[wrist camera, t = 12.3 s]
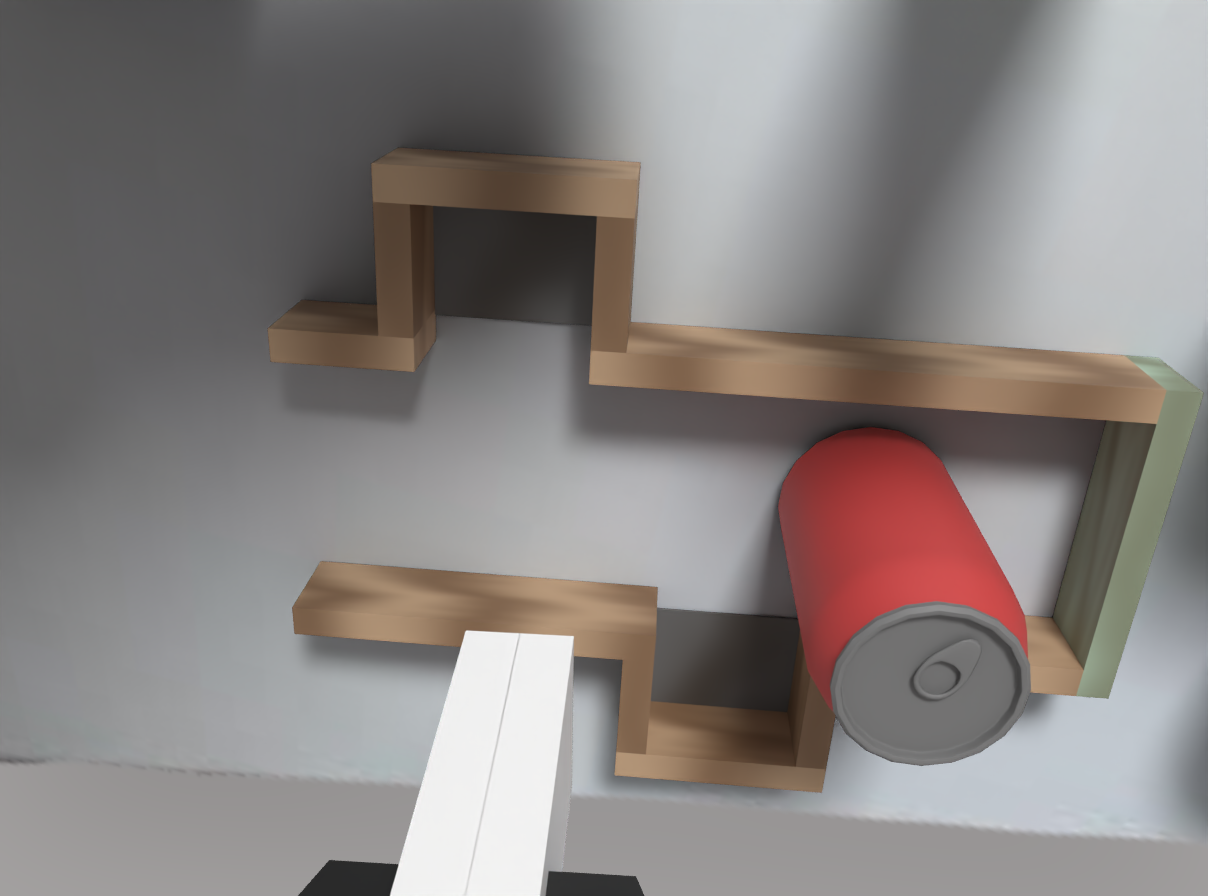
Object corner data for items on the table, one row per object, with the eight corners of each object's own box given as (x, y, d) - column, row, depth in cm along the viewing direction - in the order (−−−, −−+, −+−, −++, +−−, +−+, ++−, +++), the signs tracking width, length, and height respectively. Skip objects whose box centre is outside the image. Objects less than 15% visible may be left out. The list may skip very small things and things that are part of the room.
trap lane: (330, 695, 46) (304, 749, 42) (290, 140, 36) (252, 156, 32) (1043, 754, 44) (1072, 813, 41) (1204, 197, 35) (1258, 218, 31)
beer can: (985, 481, 39) (1103, 671, 28) (872, 599, 42) (941, 816, 31) (850, 387, 38) (919, 548, 27) (742, 515, 41) (765, 709, 30)
